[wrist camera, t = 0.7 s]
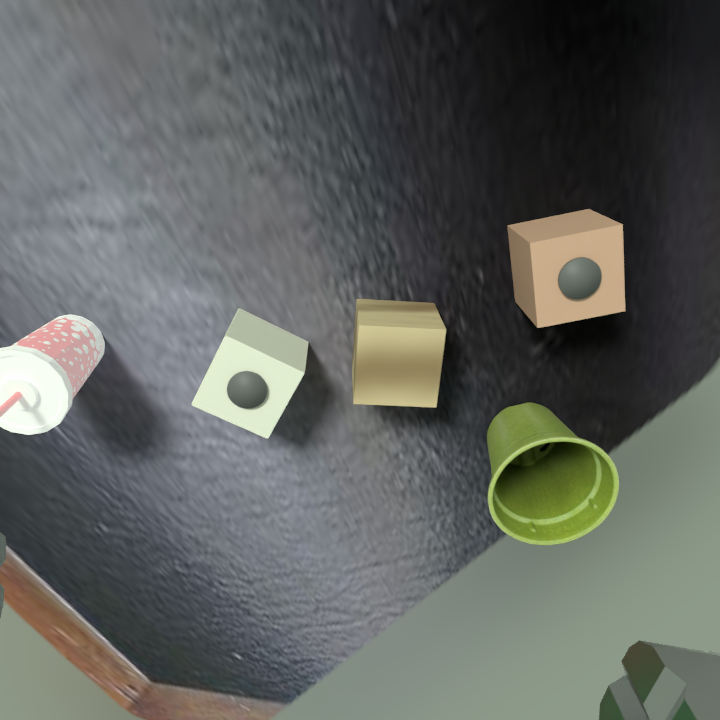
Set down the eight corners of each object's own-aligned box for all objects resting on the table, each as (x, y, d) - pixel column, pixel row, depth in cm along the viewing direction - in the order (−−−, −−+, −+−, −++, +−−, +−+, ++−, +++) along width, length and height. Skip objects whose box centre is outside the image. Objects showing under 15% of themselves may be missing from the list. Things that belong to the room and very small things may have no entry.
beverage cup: (88, 293, 47) (-8, 368, 34) (129, 362, 49) (54, 457, 36) (18, 321, 47) (-102, 406, 34) (61, 388, 50) (-36, 491, 37)
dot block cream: (238, 307, 47) (224, 336, 42) (308, 341, 49) (304, 374, 43) (207, 370, 49) (190, 406, 44) (275, 401, 51) (267, 441, 45)
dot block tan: (507, 225, 46) (531, 244, 40) (588, 208, 45) (624, 225, 39) (515, 301, 48) (539, 329, 42) (592, 286, 48) (627, 312, 42)
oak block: (356, 298, 47) (358, 325, 42) (433, 302, 48) (446, 329, 42) (351, 369, 50) (353, 403, 44) (425, 373, 50) (436, 407, 45)
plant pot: (536, 495, 55) (569, 563, 47) (446, 454, 53) (464, 518, 45) (598, 412, 52) (645, 469, 44) (505, 365, 50) (536, 417, 42)
